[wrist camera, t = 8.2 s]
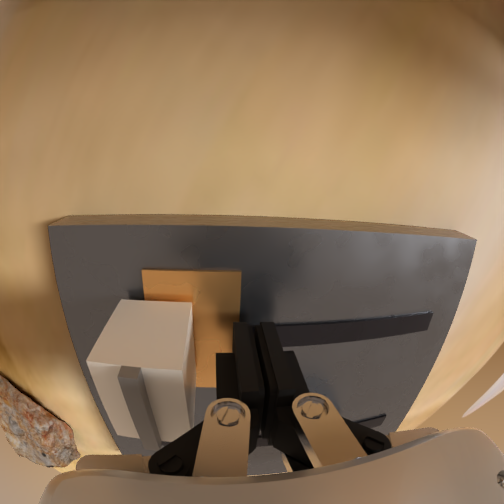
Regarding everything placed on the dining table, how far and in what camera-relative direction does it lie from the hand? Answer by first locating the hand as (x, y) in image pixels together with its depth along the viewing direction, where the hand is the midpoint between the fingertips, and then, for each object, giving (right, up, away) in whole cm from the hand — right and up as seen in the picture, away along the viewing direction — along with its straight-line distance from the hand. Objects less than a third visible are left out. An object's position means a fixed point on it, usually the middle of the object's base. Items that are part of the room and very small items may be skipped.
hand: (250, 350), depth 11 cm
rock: (-20, -10, +5) cm, 23 cm away
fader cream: (-4, 0, 0) cm, 4 cm away
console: (+1, -4, +5) cm, 6 cm away
